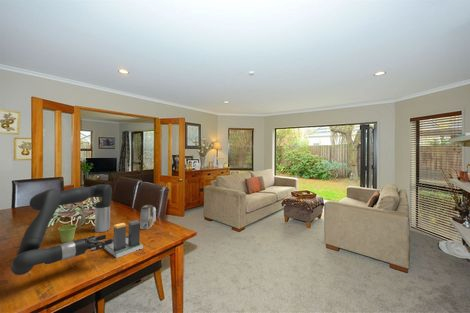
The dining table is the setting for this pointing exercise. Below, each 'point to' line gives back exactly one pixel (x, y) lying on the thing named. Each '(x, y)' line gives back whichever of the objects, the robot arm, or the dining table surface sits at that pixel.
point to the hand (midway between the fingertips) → (108, 238)
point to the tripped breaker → (119, 236)
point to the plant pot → (67, 233)
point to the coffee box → (146, 217)
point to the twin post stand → (128, 241)
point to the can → (154, 214)
